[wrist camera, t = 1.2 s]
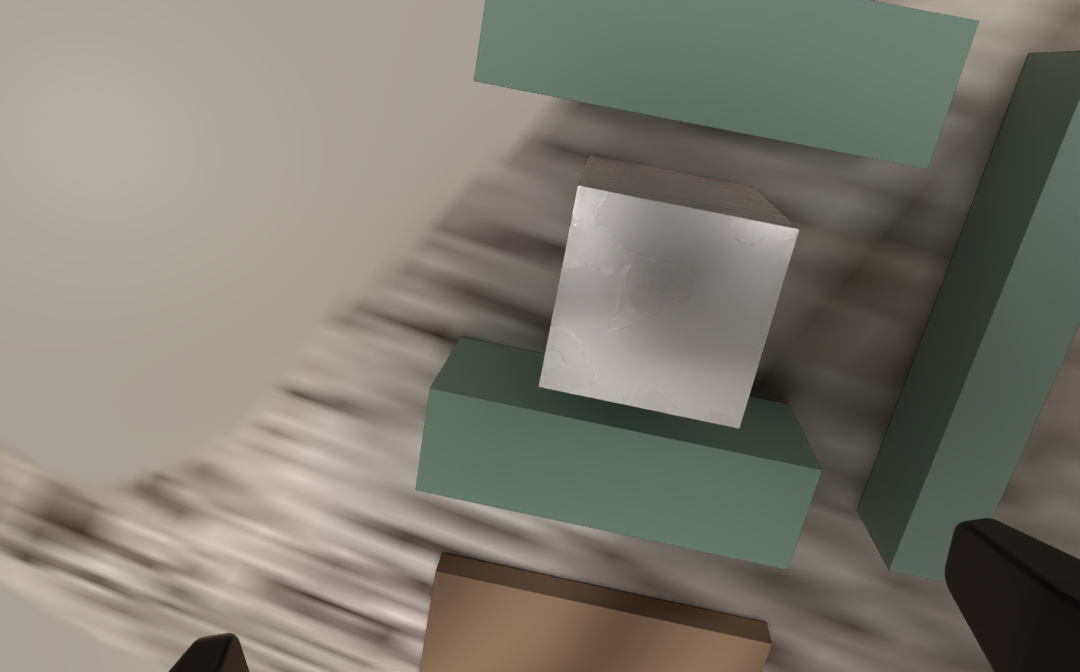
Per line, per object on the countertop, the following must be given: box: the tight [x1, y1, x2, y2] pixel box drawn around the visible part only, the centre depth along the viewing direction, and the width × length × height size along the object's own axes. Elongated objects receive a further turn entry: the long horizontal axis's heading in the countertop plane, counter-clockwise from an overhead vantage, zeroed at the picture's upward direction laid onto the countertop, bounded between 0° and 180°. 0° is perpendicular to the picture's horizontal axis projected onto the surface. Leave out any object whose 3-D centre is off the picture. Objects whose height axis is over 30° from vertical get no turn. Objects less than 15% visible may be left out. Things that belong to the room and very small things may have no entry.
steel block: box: [539, 155, 799, 428], centre depth 19 cm, size 4×4×6 cm
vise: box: [415, 0, 1080, 582], centre depth 19 cm, size 15×16×4 cm
